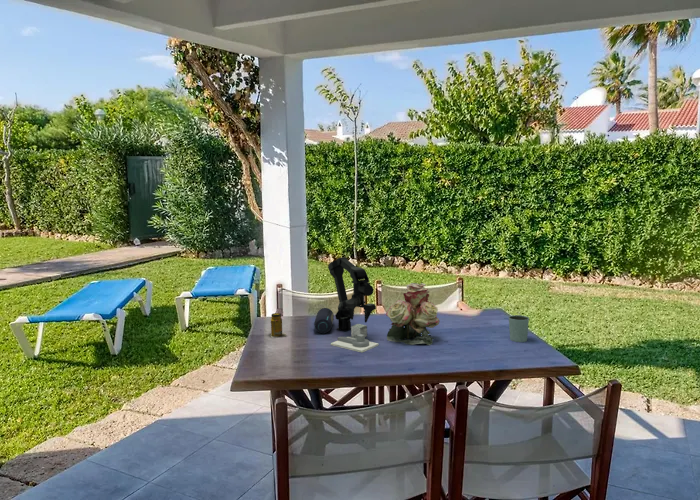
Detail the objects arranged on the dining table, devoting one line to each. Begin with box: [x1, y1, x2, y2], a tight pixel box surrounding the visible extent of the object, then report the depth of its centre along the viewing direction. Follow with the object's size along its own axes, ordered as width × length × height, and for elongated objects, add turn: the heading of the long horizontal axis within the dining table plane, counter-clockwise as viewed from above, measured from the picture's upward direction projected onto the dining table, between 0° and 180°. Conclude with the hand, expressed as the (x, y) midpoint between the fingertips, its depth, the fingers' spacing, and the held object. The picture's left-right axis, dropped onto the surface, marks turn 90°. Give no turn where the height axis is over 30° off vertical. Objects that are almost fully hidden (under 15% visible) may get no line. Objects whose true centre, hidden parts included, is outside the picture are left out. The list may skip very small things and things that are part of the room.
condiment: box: [269, 312, 288, 338], centre depth 292 cm, size 7×8×12 cm
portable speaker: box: [313, 307, 335, 334], centre depth 304 cm, size 25×10×10 cm, turn 179°
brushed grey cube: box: [350, 323, 368, 339], centre depth 288 cm, size 6×6×6 cm
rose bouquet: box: [385, 282, 441, 346], centre depth 282 cm, size 26×29×30 cm
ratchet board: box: [330, 334, 379, 354], centre depth 273 cm, size 20×14×6 cm
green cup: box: [508, 314, 530, 343], centre depth 279 cm, size 10×10×12 cm
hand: (358, 320), depth 287 cm, fingers open, 9 cm apart
